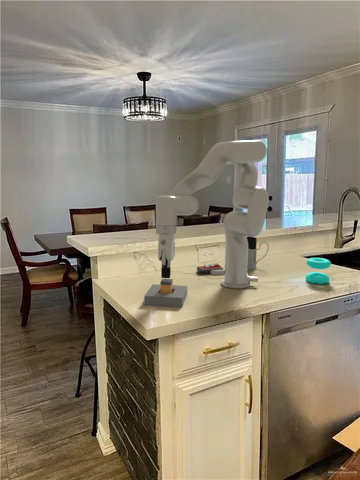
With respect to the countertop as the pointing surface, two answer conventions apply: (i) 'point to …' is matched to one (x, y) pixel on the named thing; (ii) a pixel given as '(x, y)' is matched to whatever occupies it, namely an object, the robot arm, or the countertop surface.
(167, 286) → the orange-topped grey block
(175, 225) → the robot arm
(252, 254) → the grey and black mug
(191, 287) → the countertop surface
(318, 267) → the donuts
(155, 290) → the socket plate
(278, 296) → the countertop surface
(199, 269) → the walkie-talkie
